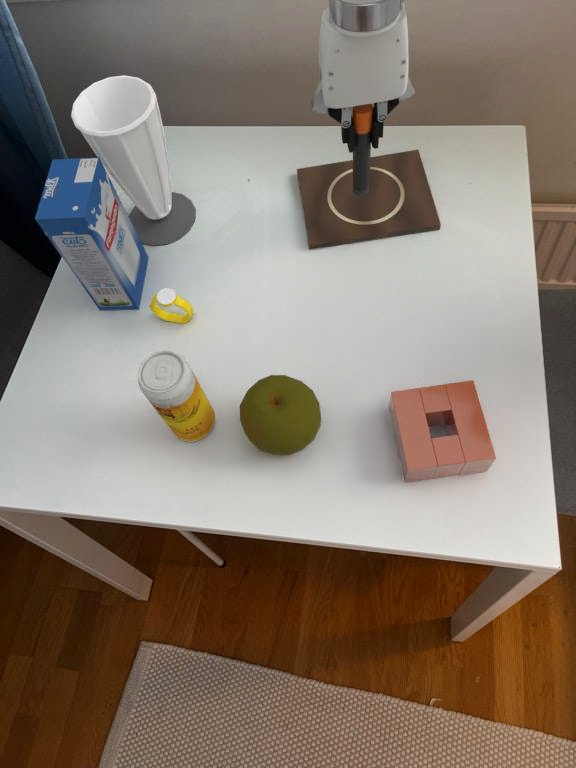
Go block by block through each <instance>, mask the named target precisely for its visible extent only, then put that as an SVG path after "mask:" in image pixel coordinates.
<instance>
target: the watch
mask: <svg viewBox="0 0 576 768" xmlns="http://www.w3.org/2000/svg"><path fill="white" fill-rule="evenodd" d="M158 304H159V305H158ZM173 305H174V306H176V307H178V308H180V309H182V310H183V311H184V312H185V313H186V314H180V313H174V312H169V311H167V310H165V309H163V308H169V307H172V306H173ZM160 306H161V307H163V308H161V307H160ZM149 308H150V311H151V312H152V313H153V314H154V315H155V316H156V317H158V318H159V319H161V320H163V321H165V322H172V323H176V324H182V325H184V324H187V323H189V322H190V321H191V319H192V316H193V313H194V308H193V306H192V304H191V303H190V302H189V301H187V300H186V299H185V298H184V297H182V296H179V295H177V292H176V291H175V290H174V289H173V288H170V287H165V288H162V289H160V290H159V291H158V292H157V293H155V294H154V295H153V296H152V298H151V300H150V303H149Z"/></svg>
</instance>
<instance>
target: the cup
mask: <svg viewBox="0 0 576 768" xmlns="http://www.w3.org/2000/svg"><path fill="white" fill-rule="evenodd" d="M70 113H71V114H70V117H71V119H72V122H73V124H74V126H75V128H76V129H77V130H78V131H80V132H81V135H82V136H83V138H84V139H85V141H86V142H87V145H89V147H90V148H91V150H92V151H93V153H94V154H95V155H96V156H95V157H99V158H100V160H101V162H102V164H103V166H104V168H105V170H106V171H107V173H109V175H110V176H111V177H112V179H113V180H114V181H115V183H116V184H117V185H118V186H119V188H120V189H121V190H122V191H123V192H124V194H125V195H126V196H127V197H128V199H130V201H131V202H132V203H133V205H134V206H133V208H132V210H131V211H130V212H129V215H128V217H129V219H130V221H131V223H132V225H133V227H134V229H135V231H136V233H137V235H138V237H139V239H140V241H141V243H142V245H147V246H150V247H151V246H152V247H159V246H167V245H170V244H171V243H174V242H176V241H179V240H180V239H181V238H183V237H184V236H185V235H187V233H189V232H190V230H191V229H192V227H193V225H194V223H195V222H196V214H197V213H196V212H197V209H196V207H195V205H194V203H193V201H192V200H191V198H188V197H187V196H186V195H184V194H183V193H179V192H174V191H173V190H172V178H171V177H172V175H171V168H170V160H169V152H168V146H167V141H166V133H165V130H164V125H163V120H162V115H161V111H160V106H159V103H158V98H157V94H156V92H155V91H154V88H153V87H152V84H150V83H148V82H146V81H145V80H143V79H141V77H136V76H130V75H116V76H115V75H114V76H108V77H105V78H103V79H101V80H98V81H95V82H93V83H92V84H90V85H89V86H87V87H86V88H85V89H84V90H82V91H81V92H80V93H79V94H78V96H77V97H76V99H75V100H74V102H73V104H72V108H71V112H70Z"/></svg>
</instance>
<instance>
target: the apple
mask: <svg viewBox="0 0 576 768" xmlns="http://www.w3.org/2000/svg"><path fill="white" fill-rule="evenodd" d="M238 407H239V422H240V424H241V427H242V429H243V433H244V435H245V437H246V438H247V441H249V442H250V443H251V444H252V445H253V447H255V448H256V449H257V450H258V451H260V452H263V453H266V454H269V455H272V456H291V455H292V454H295V453H298V452H300V451H303V450H304V449H305V448H306V447H308V446H309V445H310V444H311V443H313V441H315V439H316V436H317V435H318V432H319V430H320V428H321V424H322V415H321V405H320V402H319V400H318V398H317V395H316V393H315V392H314V390H313V389H312V388H311V387H309V385H308V384H306V383H305V382H304V381H302V380H300V379H297V378H294V377H291V376H288V375H285V374H270V375H268V376H266V377H263V378H261V379H258V380H257V381H256V382H255V383H254V384H253V385H251V386H250V387H249V388H248V389H247V391H246V392H245V394H244V396H243V398H242V400H241V402H240V404H239V406H238Z"/></svg>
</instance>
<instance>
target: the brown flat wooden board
mask: <svg viewBox="0 0 576 768" xmlns="http://www.w3.org/2000/svg"><path fill="white" fill-rule="evenodd" d="M420 153H421V152H420V151H419V149H412V150H406V151H401V152H395V153H388V154H387V153H386V154H382V155H374V156H370V180H369V192H368V193H367V194H366V195H364V196H357V195H355V194H354V193H353V159H351V160H345V161H344V160H343V161H338V162H332V163H325V164H320V165H312V166H307V167H306V166H305V167H300V168H297V169H296V174H297V180H298V187H299V194H300V199H301V206H302V211H303V217H304V224H305V231H306V236H307V242H308V248H309V249H308V250H315V249H323V248H328V247H334V246H335V247H336V246H341V245H348V244H354V243H360V242H361V243H362V242H368V241H373V240H379V239H380V240H381V239H387V238H393V237H394V238H395V237H401V236H404V235H407V236H408V235H413V234H419V233H426V232H433V231H438V230H441V225H442V224H441V220H440V217H439V214H438V211H437V207H436V203H435V200H434V197H433V194H432V190H431V187H430V184H429V180H428V178H427V177H428V176H427V174H426V171H425V166H424V163H423V160H422V157H421V154H420Z"/></svg>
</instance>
